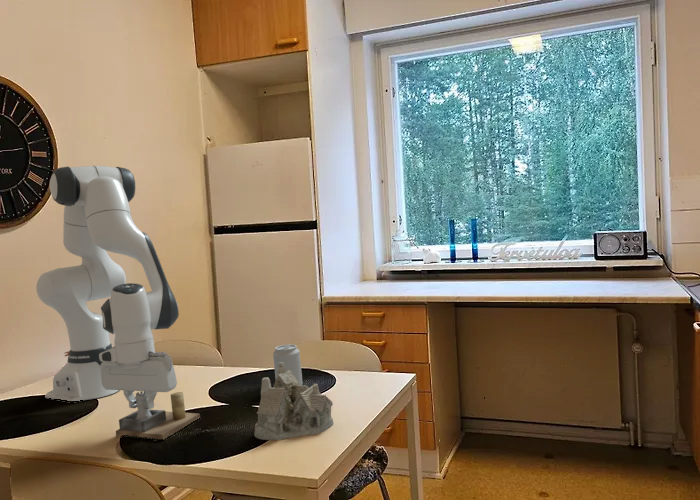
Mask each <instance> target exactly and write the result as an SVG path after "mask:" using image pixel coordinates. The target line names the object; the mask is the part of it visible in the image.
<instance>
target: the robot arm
mask: <svg viewBox="0 0 700 500" xmlns="http://www.w3.org/2000/svg"><path fill="white" fill-rule="evenodd" d="M49 191H50V195H51V197H52V199H53V201H55V202H56V203H57V204H59V205H61V206H64V208H63V209H64V210H63V235H62V236H63V239H62V240H63V241H62V243H63V246H64V248H65V250H66V251H67V252H69V253H70V254H71V255H75V256H77V257H80V258H81V264H80V265H73V266H67V267H59V268H55V269H52V270H50V271H47V272H43V273H42V274H40V276H39V278H38V279H37V283H36V294H37V297H38V298H39V300H40V301H41V302H42V303H44V304H45V305H46V306H48V307H50V308H52V309H53V310H55V311H56V312H57V313H58V314H59V315H60V316H61V318H62V319H63V321H64V323H65V326H66V330H67V335H68V339H69V347H70V349H69V351H65V352H64V357H67V362H66V363H65V364H64V366H62V368H60V369H59V371H58V372H57V373H56V374H55V375H54V376H53V378H52V389H51V390H50V391H49V392H47V393H45V396H44V397H45V399H49V398H51V399H50V400H54V399H61V400H67V401H79V402H81V401H80V400H83V401H87V400H93V399H98V398H99V399H100V398H103V397H107V396H110V395H113V394H115V393H117V392H119V391H123V396H124V397H125V399H126V400H127V402H128V407H129V409H136V408H138V406H137V404H136V403H137V400H136V399H135V396H136V395H134V392H141V391H142V392H144V391H146V395H147V396H148V398H147V401H145V402H144V405H145V407H144V408H145V409H149V410H153V409H154V407H155V401H154V400H155V399H156V396H157V393H168V392H171V391H172V390H174V389H176V388H177V385H178V381H177V376H176V371H175V368H174V367H175V366H174V364H173V359H172V356H170V355H169V354H168V353H167V352H165V351H161V352H159V351H158V352H157V351H156V350H155V341H154V335H153V332H152V330H166V329H167V330H168V329H170V328H171V327H172V326H173V325H174V324H175V323H176V321H177V320H178V318H179V315H180V313H179V312H180V311H179V310H180V309H179V305H178V300H176V297H175V295H174V293H173V291H172V288H171V287H170V285H169V282H168V280H167V277H166V274H165V272H164V268H163V267H162V263H161V262H160V259H159V256H158V254H157V251H156V249H155V246H154V244H153V241H152V240H151V237H149V235H148V233H146V232H144V231H141V230H140V229H139V228H138V226H136V224H135V222H134V220H133V217H132V212H131V208H130V204H129V203H130V202H131V200H133V198H135V195H136V180H135V177H134V174H133V173H132V171H131V170H130V169H128V168H125V167H121V166H116V167H113V166H107V165H105V166H104V165H86V166H85V165H84V166H82V165H81V166H72V167H70V166H61V167H58V168H55V169H54V171H53V172H52V174H51V176H50V179H49ZM108 252H110V253H114V254H118V255H122V256H127V257H130V258H132V259H134V260H136V261H138V262H139V263H140V264H141V266H142V269H143V271H144V273H145V276H146V278H147V281H148V284H149V286H150V289H151V290H150V291H148V292H147V291H146V289H145V287H144V285H142V284H141V283H140V284H139V283H128V282H127V276H126V272H125V271H124V269H123V267H122V266H121V265H120V264H119V263H117V262H115V261H114V260H113V259H112V258H111V257H110V255H109V254H108ZM107 298H108V299H107ZM101 299H102V300H103V299H106V300H105V302H104V303H103V304H102V305H101V306H100V311H101V314H100V313H98V312H93V311H90V309H89V307H88V305H87V302H90V301H91V302H92V301H96V300H101ZM110 334H112V335H114V343H113V344H114V346H113V345H112V343H111V338H110Z"/></svg>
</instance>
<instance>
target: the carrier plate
mask: <svg viewBox="0 0 700 500" xmlns="http://www.w3.org/2000/svg"><path fill="white" fill-rule="evenodd" d="M184 397H185V396H184V393H183V392H182V391H179V392H178V391H177V392H176V391H175V392H173V393H171V394H170V401H171V402H170V403H171V411H166V410H164V409H163V410H162V409H149V411H150V413H151V415H152V416H150V417H148V418H146V419H144V420H138V419H136V418H137V417H136V416H137V414H138V410H136V411H134V412H131V413H130V414H128V415H125V416H124V417H122V418H120V419H118V425H119V429H117V430H115V436H116V438H122V437H121V436H122V435H129V436H138V437H147V438H155V439H163V440H164V439H165V438H167V437H168V436H170V435H172V434H174V433H175V432H177V431H179V430H180V429H182V428H184V427H185V426H187V425H188V424H190V423H191V422H193V421H195V420H197V419H199V418H200V419H201V414H200V413H196V412H186V410H185V409H186V408H185V407H186V406H185V398H184Z"/></svg>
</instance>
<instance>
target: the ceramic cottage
mask: <svg viewBox="0 0 700 500" xmlns="http://www.w3.org/2000/svg"><path fill="white" fill-rule="evenodd" d="M271 383H272V382H271V380H270V378H269V377H262V379H261V388H260V402H259V405H258V409H257V411H256V414H257V422H256V423H255V425H254V434H253V436H254V437H255V438H256V439H259V440H263V441H264V440H265V441H273V440H274V441H279V440H286V439H291V438H298V437H299V438H300V437H304V436H310V435H317V434H321V433H323V432H325V431H327V430H329V428H330V427H332V426H334V419H333V417H332V407H333V405H334V403H333V401H332V399H330V398H329V396H327V395H326V394H322V393H321V392H320V389H319V385H318V383H313V384H312V385H311V386H308V385H305V384H304V385H303V384H302V385H299V382H298V381H297V379H296V378H295V377H294V375H293V374H292V372H291V371H290V370H288V371H287V370H286V367H285V365H284V362H279V367H278V375H277V379H275V381H274V385H273V387H272V384H271Z"/></svg>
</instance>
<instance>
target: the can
mask: <svg viewBox="0 0 700 500" xmlns="http://www.w3.org/2000/svg"><path fill="white" fill-rule="evenodd" d="M297 347H298V346H297V345H296V344H290V343H289V344H280V345H278V346H276V347H275V348H274V351H273V353H272V355H273V365H274V366H273V367H274V375H275V376H274V378H275V379H274V380H276V379H277V375H278V367H279V362H284V365H285V367H286V370H287V371H288V370H290V371H291V372H292V374H293V375H294V377H295V378H296V379H297V381H298V382H299V385H303V373H302V365H301V363H302V362H301V355H300V349H299V348H297Z"/></svg>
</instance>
